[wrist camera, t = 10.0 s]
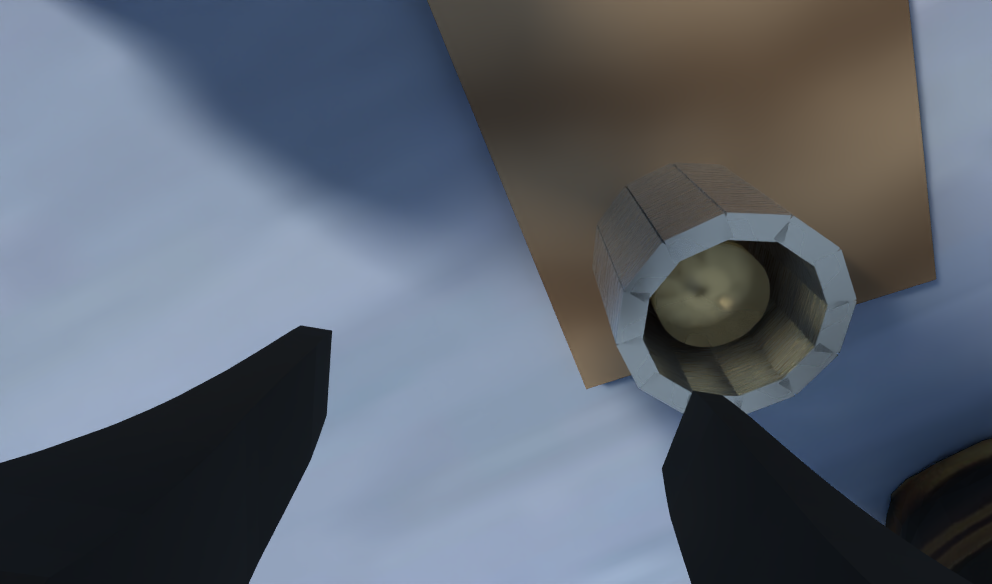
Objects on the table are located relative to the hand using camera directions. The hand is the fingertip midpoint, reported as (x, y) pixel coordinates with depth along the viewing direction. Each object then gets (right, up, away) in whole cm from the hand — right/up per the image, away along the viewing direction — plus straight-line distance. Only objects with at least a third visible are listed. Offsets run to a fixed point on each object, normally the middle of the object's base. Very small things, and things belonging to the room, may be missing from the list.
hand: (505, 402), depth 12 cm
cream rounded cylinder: (+6, +4, +8) cm, 11 cm away
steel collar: (+6, +4, +7) cm, 10 cm away
